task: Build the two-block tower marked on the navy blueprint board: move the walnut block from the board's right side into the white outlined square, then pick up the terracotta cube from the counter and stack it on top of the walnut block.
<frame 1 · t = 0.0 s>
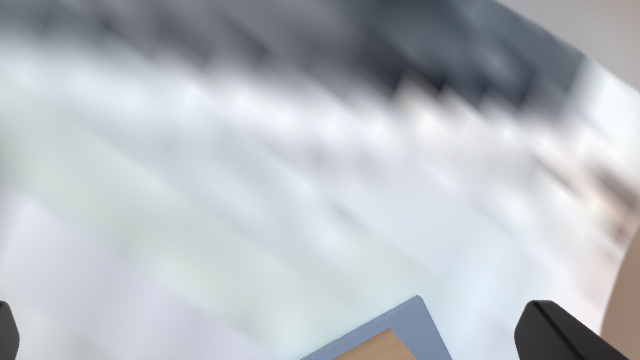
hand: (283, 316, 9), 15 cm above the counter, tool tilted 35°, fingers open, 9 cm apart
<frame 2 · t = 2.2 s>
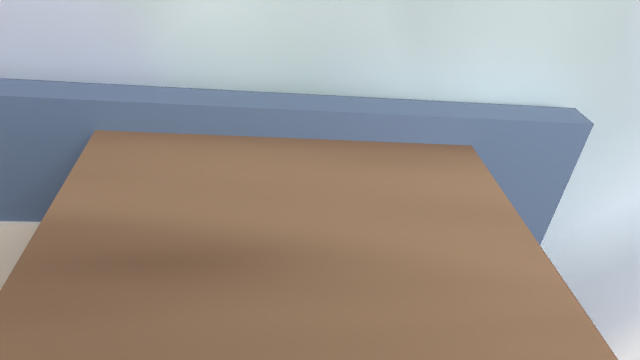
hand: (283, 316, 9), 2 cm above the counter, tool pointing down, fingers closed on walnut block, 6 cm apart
walnut block: (282, 274, 10), point 1 cm above the counter, touching blueprint board, gripper
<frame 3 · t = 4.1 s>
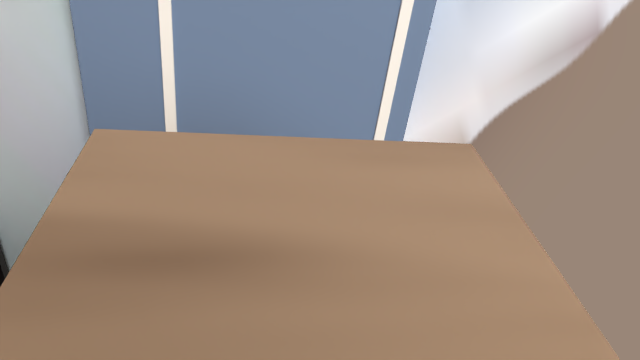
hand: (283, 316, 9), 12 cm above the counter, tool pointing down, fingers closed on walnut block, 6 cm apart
blueprint board: (256, 26, 18), on the counter
walnut block: (282, 274, 10), point 11 cm above the counter, touching gripper
when the fingers open (3 cm above the counter, at t = 6.3 s): walnut block drops 1 cm, resting on blueprint board.
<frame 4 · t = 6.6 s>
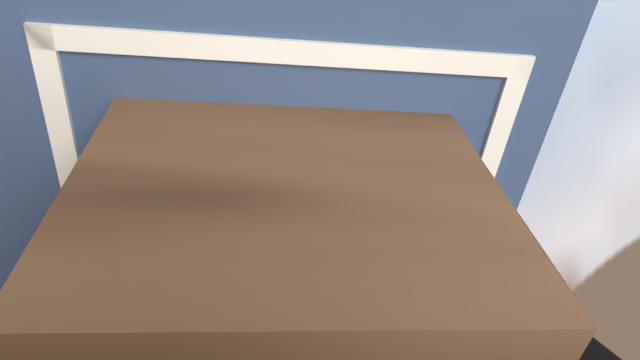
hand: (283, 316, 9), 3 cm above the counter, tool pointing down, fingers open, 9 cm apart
blueprint board: (236, 136, 10), on the counter
walnut block: (280, 235, 11), point 1 cm above the counter, touching blueprint board
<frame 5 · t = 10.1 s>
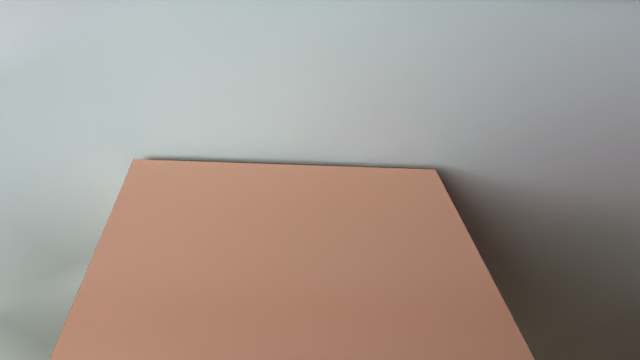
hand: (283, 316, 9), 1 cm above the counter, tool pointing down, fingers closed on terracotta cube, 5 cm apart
terracotta cube: (281, 274, 10), on the counter, touching gripper
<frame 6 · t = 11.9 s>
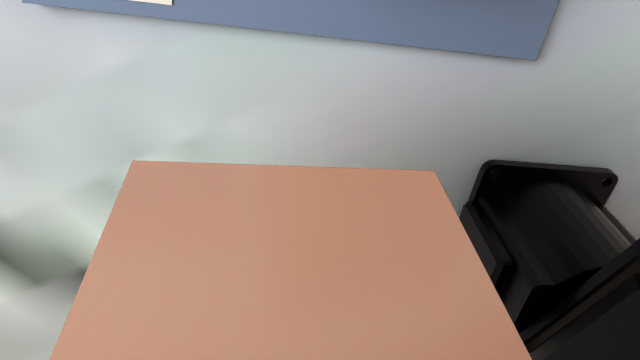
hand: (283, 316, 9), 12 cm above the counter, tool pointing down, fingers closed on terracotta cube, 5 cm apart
terracotta cube: (281, 275, 10), point 11 cm above the counter, touching gripper
when the fingers open (8 cm above the counter, at t = 13.8 s): terracotta cube stays where it is, resting on walnut block.
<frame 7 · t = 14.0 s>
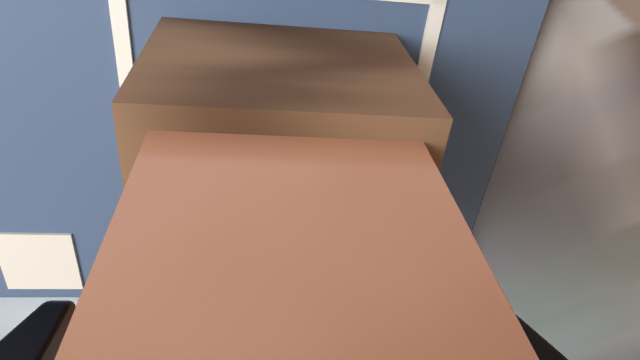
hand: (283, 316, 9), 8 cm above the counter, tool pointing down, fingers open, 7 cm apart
blueprint board: (208, 144, 15), on the counter
terracotta cube: (282, 241, 10), point 6 cm above the counter, touching walnut block
walnut block: (275, 128, 15), point 1 cm above the counter, touching blueprint board, terracotta cube
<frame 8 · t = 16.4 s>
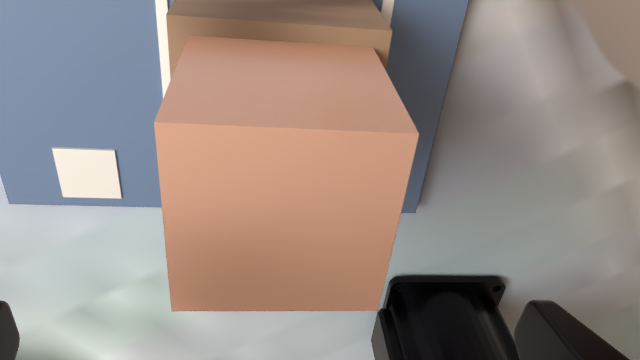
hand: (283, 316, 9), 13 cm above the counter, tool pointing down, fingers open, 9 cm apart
blueprint board: (222, 78, 20), on the counter
terracotta cube: (278, 124, 15), point 6 cm above the counter, touching walnut block
walnut block: (274, 63, 19), point 1 cm above the counter, touching blueprint board, terracotta cube
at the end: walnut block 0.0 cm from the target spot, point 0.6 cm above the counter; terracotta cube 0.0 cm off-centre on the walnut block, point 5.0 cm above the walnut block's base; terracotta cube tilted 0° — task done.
